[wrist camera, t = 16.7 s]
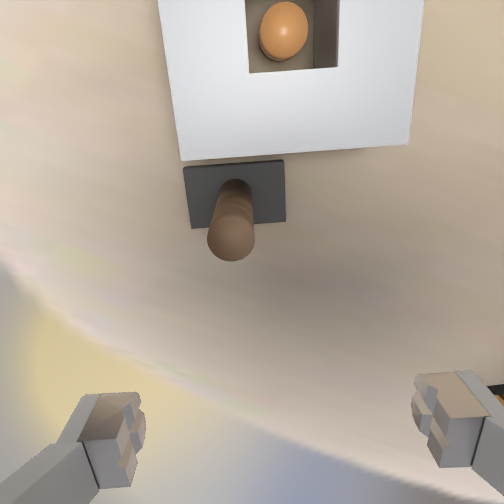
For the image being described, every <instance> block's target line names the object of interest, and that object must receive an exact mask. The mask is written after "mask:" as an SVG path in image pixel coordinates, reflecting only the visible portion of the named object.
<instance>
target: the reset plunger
mask: <svg viewBox="0 0 504 504" xmlns="http://www.w3.org/2000/svg"><path fill="white" fill-rule="evenodd" d="M307 35H308V22H307V18H306V16H305V14H304V12H303V11H302V9H301V8H300V7H299V6H297V5H296V4H294V3H292V2H287V1H283V2H279V3H276V4H274V5H273V6H271V7H270V8H269V9H268V10H267V12H266V13H265V15H264V17H263V19H262V23H261V26H260V30H259V44H260V47H261V49H262V51H263V52H264V54H265V55H266V56H267V57H269V58H270V59H272V60H275V61H284V60H287V59H289V58H291V57H292V56H293V55H295V54H296V53H297V52H298V51H299V50H300V49H301V48H302V47H303V45H304V43H305V41H306V39H307Z"/></svg>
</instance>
